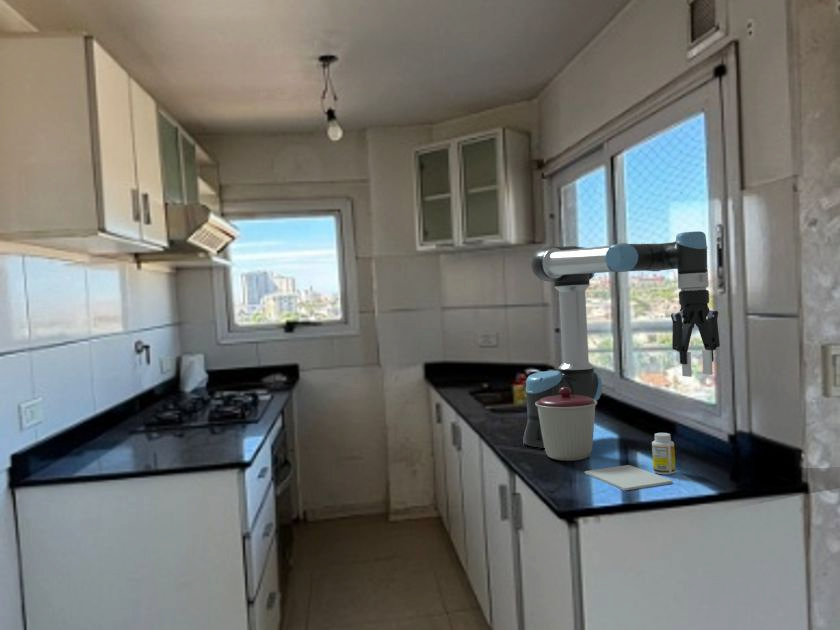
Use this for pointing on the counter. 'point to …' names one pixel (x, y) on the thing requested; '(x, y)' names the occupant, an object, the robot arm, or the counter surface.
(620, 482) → the mat
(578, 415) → the canister
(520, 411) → the counter surface
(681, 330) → the robot arm
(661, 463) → the supplement bottle
